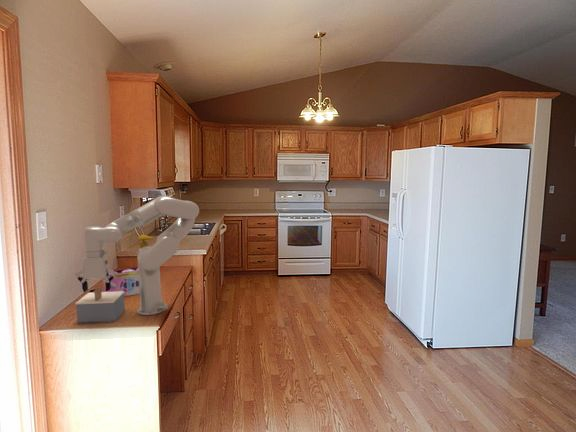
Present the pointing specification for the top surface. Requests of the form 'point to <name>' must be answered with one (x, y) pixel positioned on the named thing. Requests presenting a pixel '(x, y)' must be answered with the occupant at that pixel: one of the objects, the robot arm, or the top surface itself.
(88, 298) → the carton flap
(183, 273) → the top surface
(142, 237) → the soap bottle
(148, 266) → the robot arm
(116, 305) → the carton
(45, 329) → the top surface
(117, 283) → the gum box
